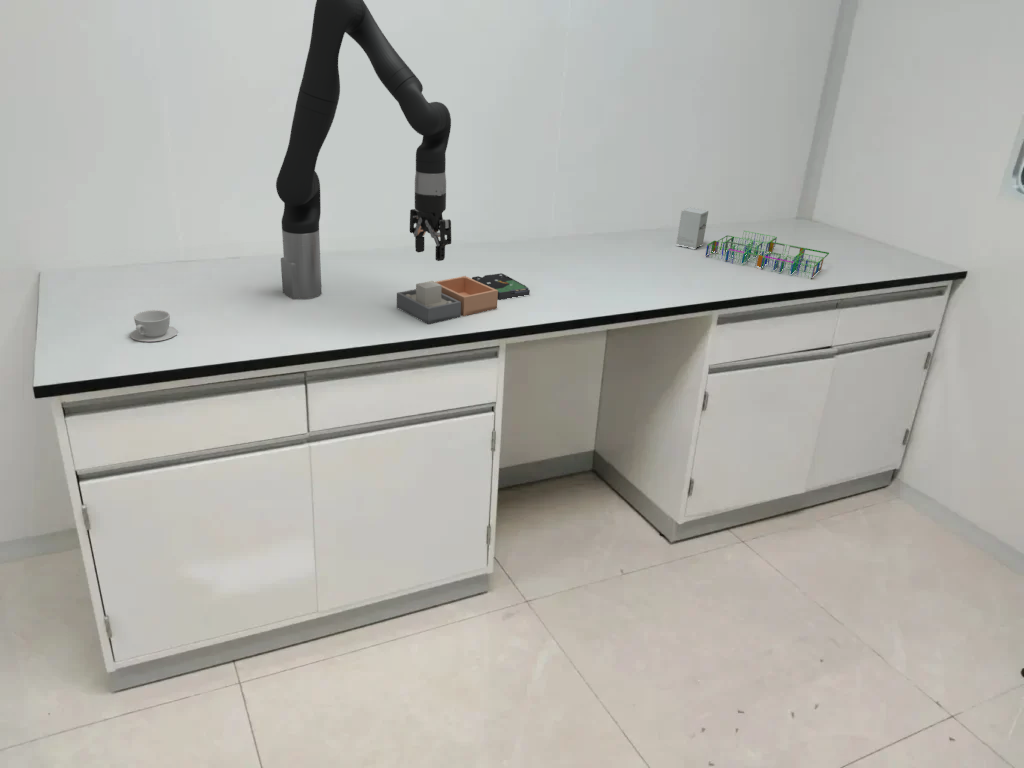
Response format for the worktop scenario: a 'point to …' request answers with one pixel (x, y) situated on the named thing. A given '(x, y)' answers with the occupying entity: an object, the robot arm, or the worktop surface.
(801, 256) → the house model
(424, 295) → the gray rectangular block
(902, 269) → the worktop surface
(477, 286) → the terracotta bin
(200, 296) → the worktop surface
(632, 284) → the worktop surface
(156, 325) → the teacup
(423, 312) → the gravel bin
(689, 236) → the supplement box
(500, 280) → the disk drive
